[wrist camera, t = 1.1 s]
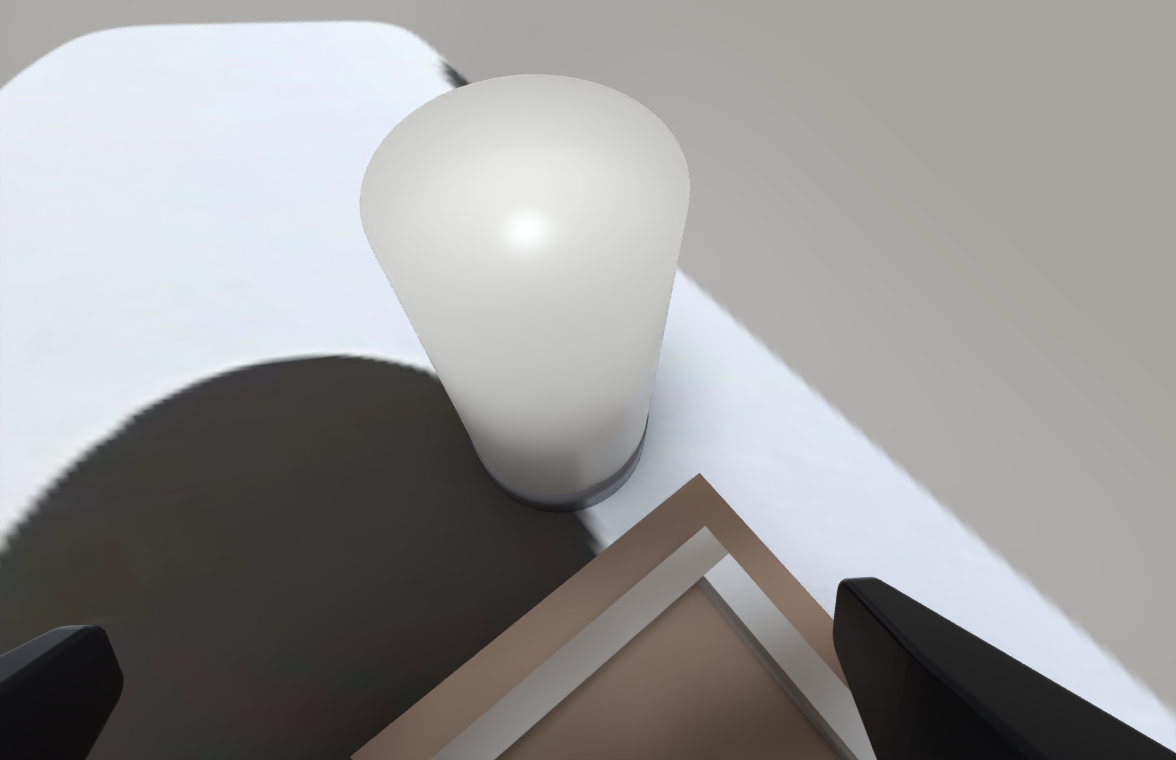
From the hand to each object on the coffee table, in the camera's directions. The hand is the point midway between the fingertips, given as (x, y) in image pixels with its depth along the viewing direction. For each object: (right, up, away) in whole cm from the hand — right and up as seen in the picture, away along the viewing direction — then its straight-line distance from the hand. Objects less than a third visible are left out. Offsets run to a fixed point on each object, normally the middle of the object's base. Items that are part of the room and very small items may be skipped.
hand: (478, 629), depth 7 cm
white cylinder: (0, +1, +14) cm, 14 cm away
